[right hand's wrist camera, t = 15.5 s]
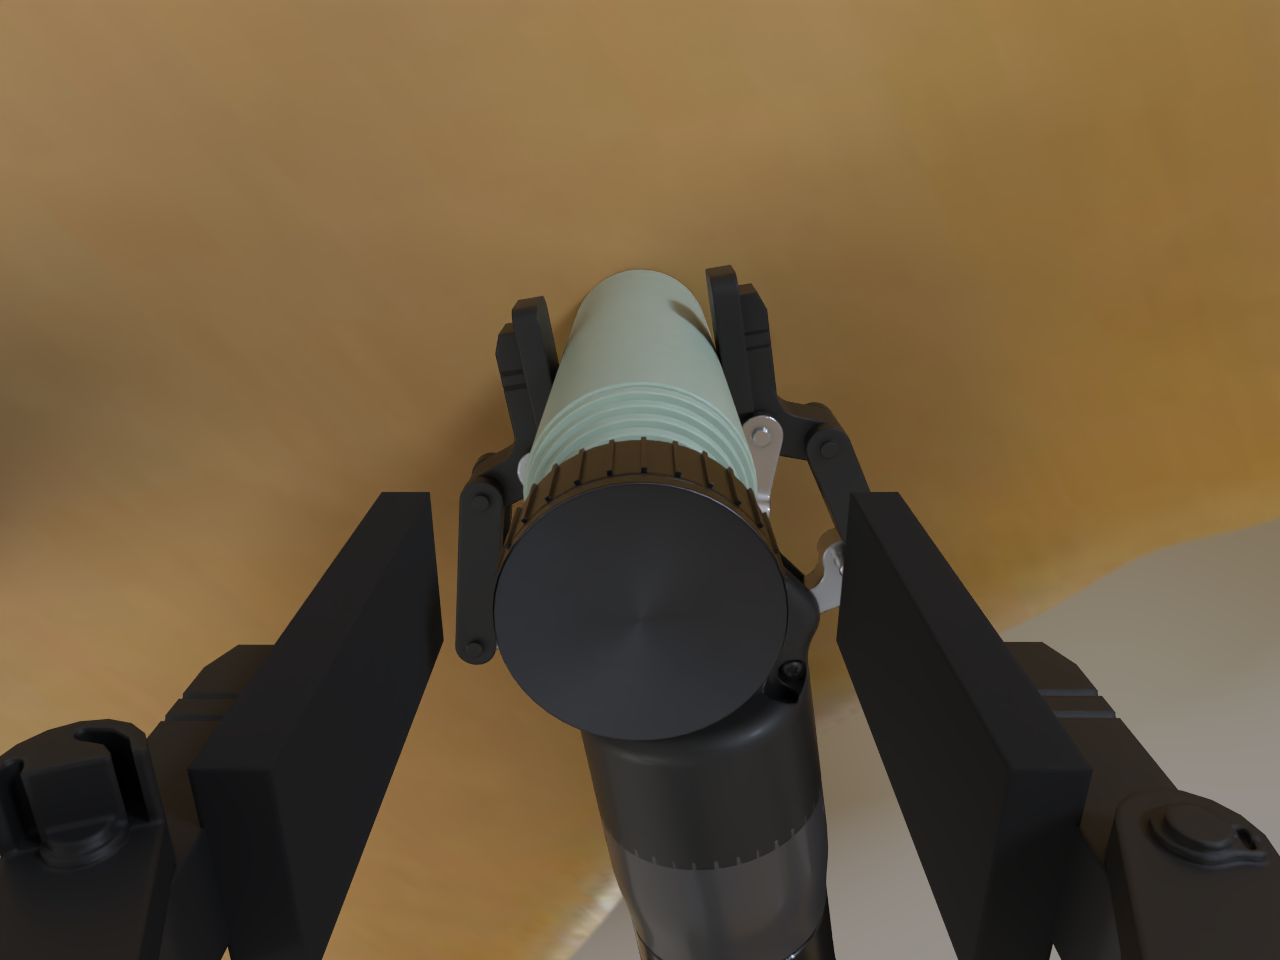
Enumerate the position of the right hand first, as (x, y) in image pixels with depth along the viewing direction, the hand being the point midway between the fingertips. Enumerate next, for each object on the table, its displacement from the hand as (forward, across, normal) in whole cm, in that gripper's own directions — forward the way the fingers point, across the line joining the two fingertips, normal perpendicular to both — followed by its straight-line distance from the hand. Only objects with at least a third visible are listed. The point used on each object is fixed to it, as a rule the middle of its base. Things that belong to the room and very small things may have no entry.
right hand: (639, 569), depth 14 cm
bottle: (+17, 0, 0) cm, 17 cm away
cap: (-1, 0, 0) cm, 1 cm away
